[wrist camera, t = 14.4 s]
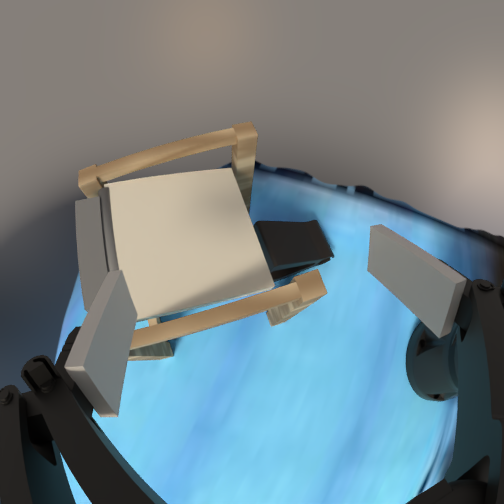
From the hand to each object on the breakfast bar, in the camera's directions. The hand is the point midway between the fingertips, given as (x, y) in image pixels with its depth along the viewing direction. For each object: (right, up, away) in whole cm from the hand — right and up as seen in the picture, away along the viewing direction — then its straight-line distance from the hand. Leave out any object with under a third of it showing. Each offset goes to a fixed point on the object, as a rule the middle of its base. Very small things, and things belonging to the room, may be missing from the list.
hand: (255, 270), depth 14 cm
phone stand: (0, 0, +23) cm, 23 cm away
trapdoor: (-8, +1, +12) cm, 14 cm away
